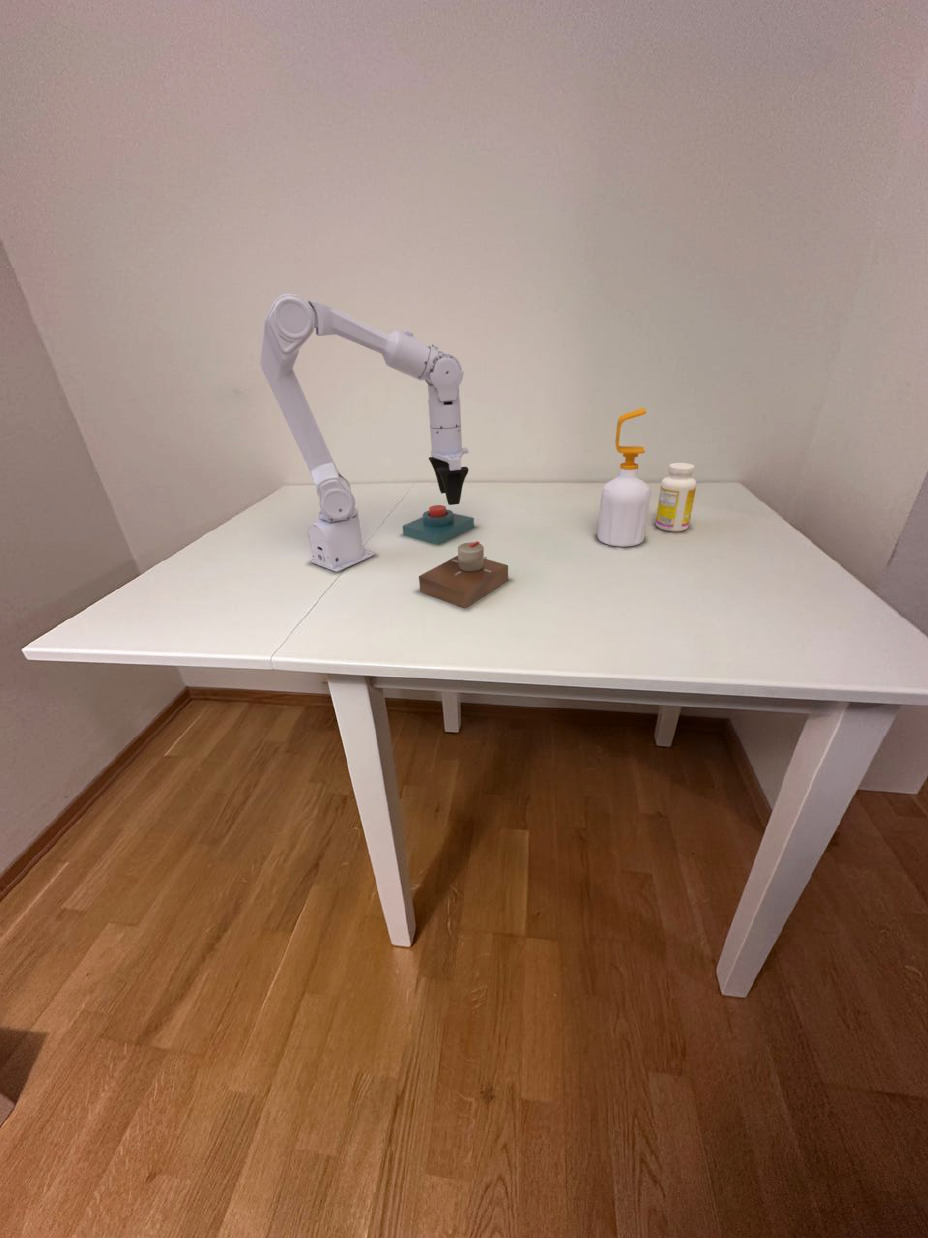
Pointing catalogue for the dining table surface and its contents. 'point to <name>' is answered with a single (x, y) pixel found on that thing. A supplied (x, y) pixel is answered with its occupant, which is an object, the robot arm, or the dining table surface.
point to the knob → (471, 556)
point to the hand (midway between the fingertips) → (449, 498)
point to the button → (437, 511)
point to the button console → (438, 527)
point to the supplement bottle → (676, 498)
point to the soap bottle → (624, 498)
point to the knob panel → (462, 581)
